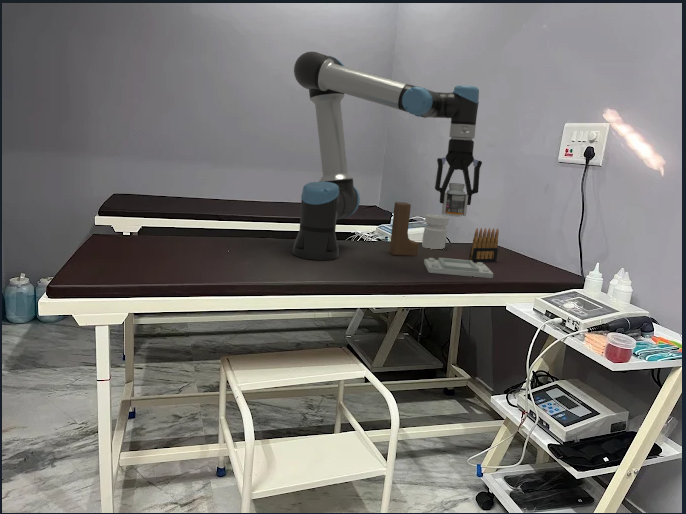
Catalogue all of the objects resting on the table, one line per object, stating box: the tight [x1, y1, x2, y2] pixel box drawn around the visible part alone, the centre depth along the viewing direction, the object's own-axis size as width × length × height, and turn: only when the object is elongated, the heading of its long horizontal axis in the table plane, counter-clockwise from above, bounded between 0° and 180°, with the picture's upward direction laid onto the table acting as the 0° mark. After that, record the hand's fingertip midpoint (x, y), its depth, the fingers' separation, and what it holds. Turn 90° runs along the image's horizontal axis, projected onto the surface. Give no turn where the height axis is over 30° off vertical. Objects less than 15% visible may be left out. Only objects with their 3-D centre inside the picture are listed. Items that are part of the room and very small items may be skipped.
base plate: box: [423, 257, 494, 279], centre depth 178 cm, size 20×12×2 cm, turn 89°
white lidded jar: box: [421, 213, 450, 250], centre depth 210 cm, size 9×9×12 cm
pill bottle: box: [444, 182, 466, 218], centre depth 172 cm, size 6×6×10 cm
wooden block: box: [388, 201, 419, 257], centre depth 193 cm, size 9×4×18 cm, turn 104°
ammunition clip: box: [468, 227, 499, 263], centre depth 193 cm, size 11×2×12 cm, turn 114°
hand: (453, 214), depth 174 cm, fingers closed on pill bottle, 6 cm apart
